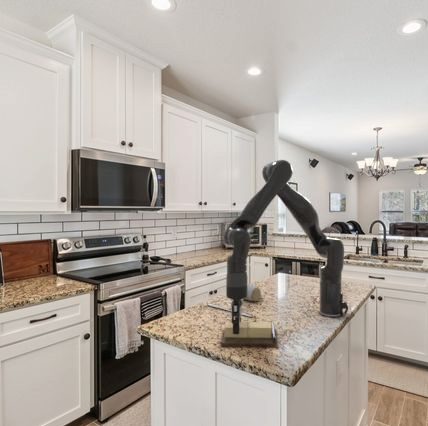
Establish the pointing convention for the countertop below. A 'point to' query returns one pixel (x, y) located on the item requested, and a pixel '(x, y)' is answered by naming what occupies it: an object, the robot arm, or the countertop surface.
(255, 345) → the board
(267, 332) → the beige rectangular block
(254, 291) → the ceramic mug
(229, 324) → the pad
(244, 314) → the butter knife
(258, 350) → the countertop surface
